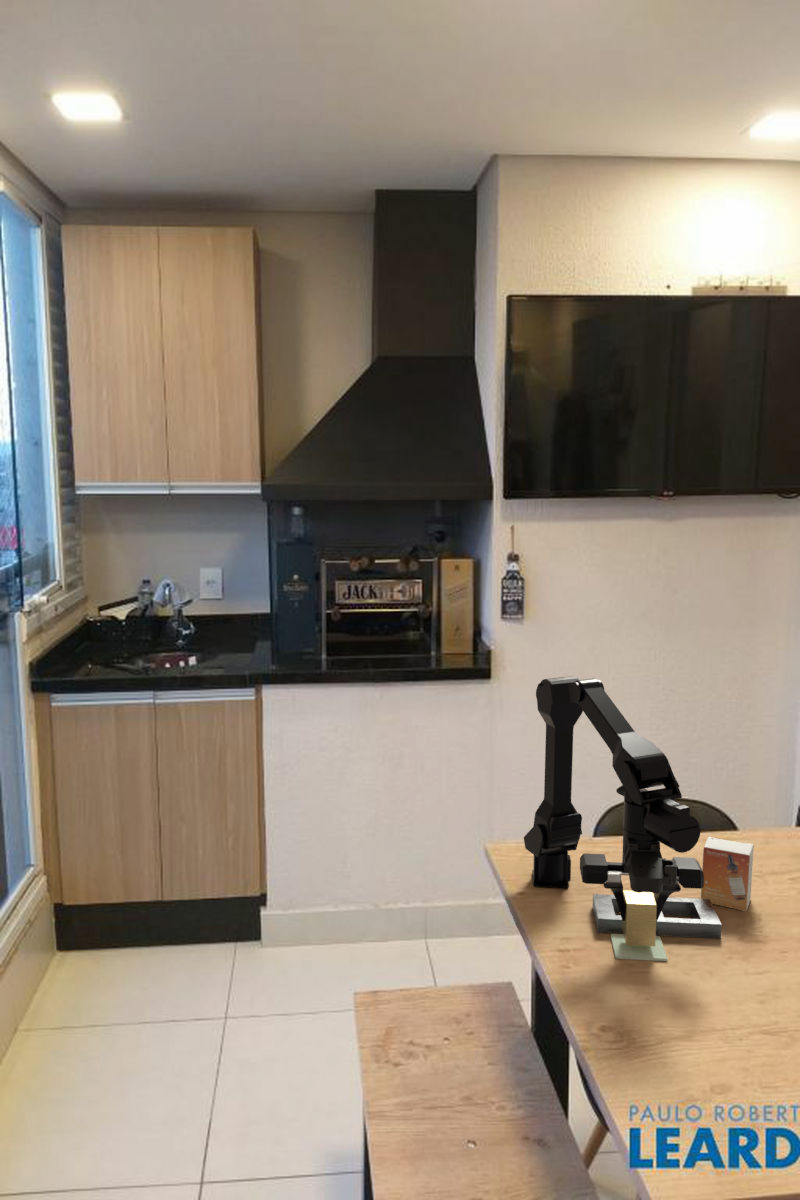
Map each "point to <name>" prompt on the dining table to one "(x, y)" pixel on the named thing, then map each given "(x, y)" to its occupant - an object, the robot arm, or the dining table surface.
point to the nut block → (639, 918)
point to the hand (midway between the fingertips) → (638, 920)
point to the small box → (727, 873)
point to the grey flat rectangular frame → (699, 927)
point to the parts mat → (638, 950)
